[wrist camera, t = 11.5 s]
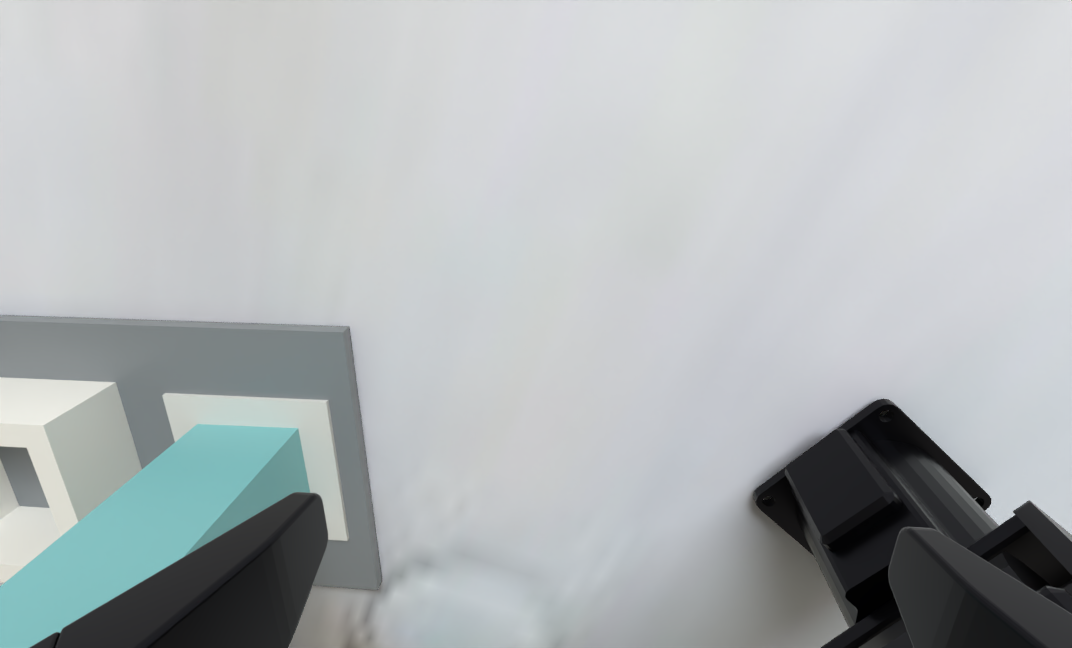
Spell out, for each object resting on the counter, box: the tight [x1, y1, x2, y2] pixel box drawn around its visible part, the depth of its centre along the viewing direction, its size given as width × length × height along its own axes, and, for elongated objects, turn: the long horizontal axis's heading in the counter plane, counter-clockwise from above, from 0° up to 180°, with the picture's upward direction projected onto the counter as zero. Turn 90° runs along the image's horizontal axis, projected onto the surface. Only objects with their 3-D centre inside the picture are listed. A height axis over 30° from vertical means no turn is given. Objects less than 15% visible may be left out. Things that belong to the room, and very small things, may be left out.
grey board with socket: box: [0, 315, 382, 590], centre depth 24 cm, size 19×13×4 cm
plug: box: [0, 424, 310, 648], centre depth 19 cm, size 4×4×13 cm
